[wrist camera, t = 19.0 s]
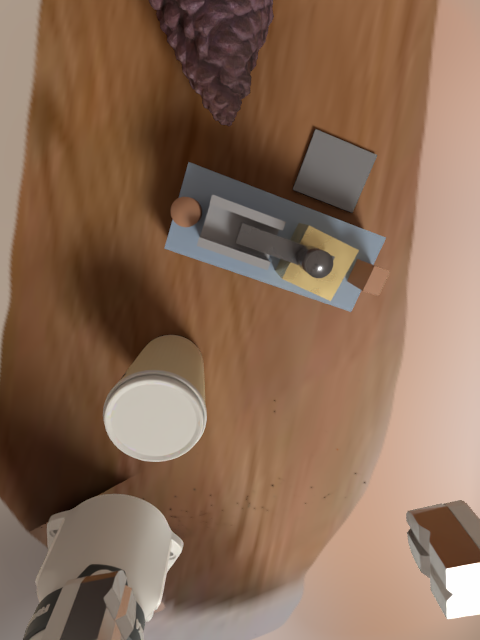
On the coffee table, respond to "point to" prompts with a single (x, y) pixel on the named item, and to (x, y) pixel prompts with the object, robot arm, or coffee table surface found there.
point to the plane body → (269, 215)
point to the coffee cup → (159, 401)
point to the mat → (334, 171)
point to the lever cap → (320, 240)
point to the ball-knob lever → (286, 250)
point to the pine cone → (216, 47)
